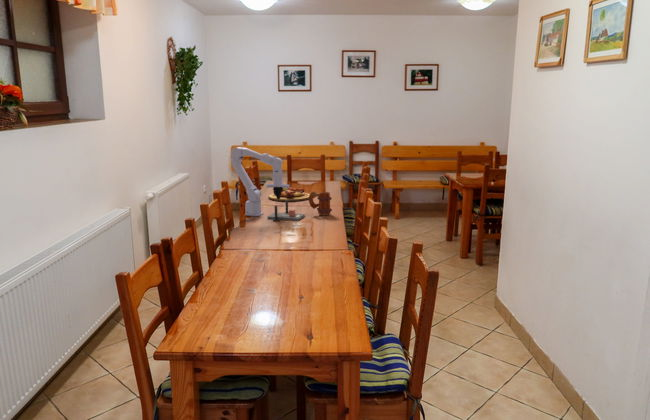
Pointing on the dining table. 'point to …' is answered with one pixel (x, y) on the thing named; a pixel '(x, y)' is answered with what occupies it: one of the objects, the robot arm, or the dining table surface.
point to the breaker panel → (286, 216)
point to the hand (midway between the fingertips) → (278, 199)
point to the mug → (321, 202)
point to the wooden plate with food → (291, 195)
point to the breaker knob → (291, 212)
